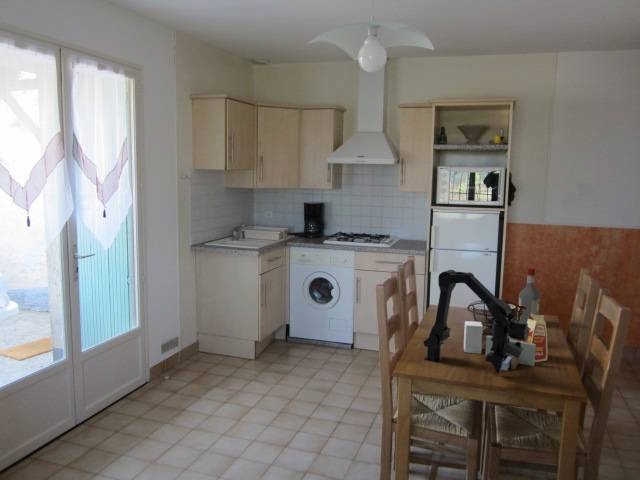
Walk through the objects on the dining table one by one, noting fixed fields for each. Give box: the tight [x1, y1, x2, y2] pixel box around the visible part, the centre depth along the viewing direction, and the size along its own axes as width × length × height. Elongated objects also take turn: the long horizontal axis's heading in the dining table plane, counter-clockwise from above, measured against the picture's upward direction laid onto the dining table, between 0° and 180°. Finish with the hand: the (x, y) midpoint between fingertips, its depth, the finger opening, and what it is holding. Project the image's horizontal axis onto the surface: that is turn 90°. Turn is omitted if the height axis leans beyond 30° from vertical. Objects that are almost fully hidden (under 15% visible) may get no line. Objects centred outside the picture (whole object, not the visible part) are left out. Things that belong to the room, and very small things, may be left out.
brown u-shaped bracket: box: [505, 352, 519, 370], centre depth 219 cm, size 7×8×5 cm
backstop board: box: [485, 335, 536, 367], centre depth 224 cm, size 2×20×9 cm, turn 58°
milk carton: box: [520, 314, 548, 363], centre depth 226 cm, size 9×9×20 cm
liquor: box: [517, 267, 541, 323], centre depth 274 cm, size 9×9×30 cm
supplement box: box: [463, 320, 484, 354], centre depth 235 cm, size 7×7×13 cm
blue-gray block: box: [500, 356, 512, 371], centre depth 217 cm, size 9×3×3 cm, turn 147°
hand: (497, 373), depth 207 cm, fingers closed
